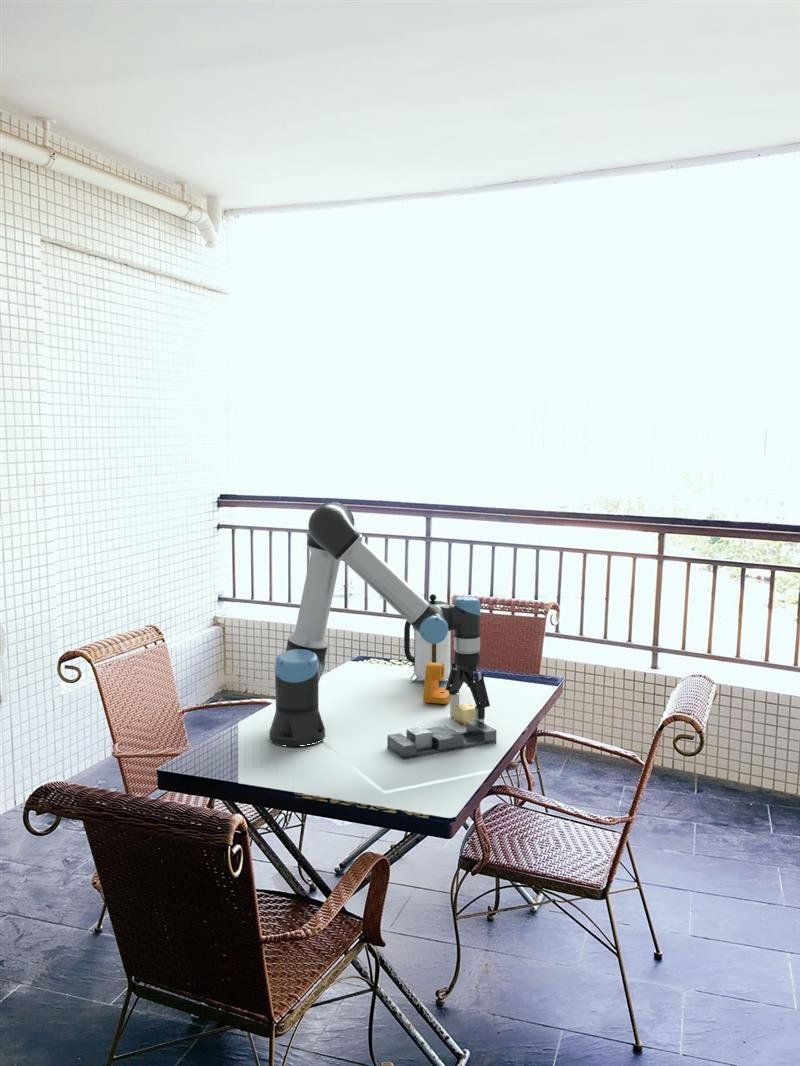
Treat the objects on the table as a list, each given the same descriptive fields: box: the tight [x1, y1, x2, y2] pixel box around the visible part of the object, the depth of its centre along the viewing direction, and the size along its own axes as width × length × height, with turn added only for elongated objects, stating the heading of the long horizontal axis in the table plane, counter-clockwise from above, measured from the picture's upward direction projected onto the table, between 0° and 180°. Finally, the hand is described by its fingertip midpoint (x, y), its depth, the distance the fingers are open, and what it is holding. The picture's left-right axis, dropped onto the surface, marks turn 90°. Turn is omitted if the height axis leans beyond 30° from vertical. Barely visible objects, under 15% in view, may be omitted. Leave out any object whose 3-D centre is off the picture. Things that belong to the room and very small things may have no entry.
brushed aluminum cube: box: [405, 726, 432, 752], centre depth 226 cm, size 5×5×5 cm
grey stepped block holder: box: [386, 720, 498, 760], centre depth 230 cm, size 28×10×4 cm, turn 117°
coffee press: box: [403, 593, 452, 682], centre depth 292 cm, size 17×16×30 cm
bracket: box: [422, 662, 450, 705], centre depth 271 cm, size 11×7×12 cm, turn 162°
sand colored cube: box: [453, 703, 476, 728], centre depth 249 cm, size 5×5×5 cm
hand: (466, 722), depth 249 cm, fingers open, 13 cm apart
